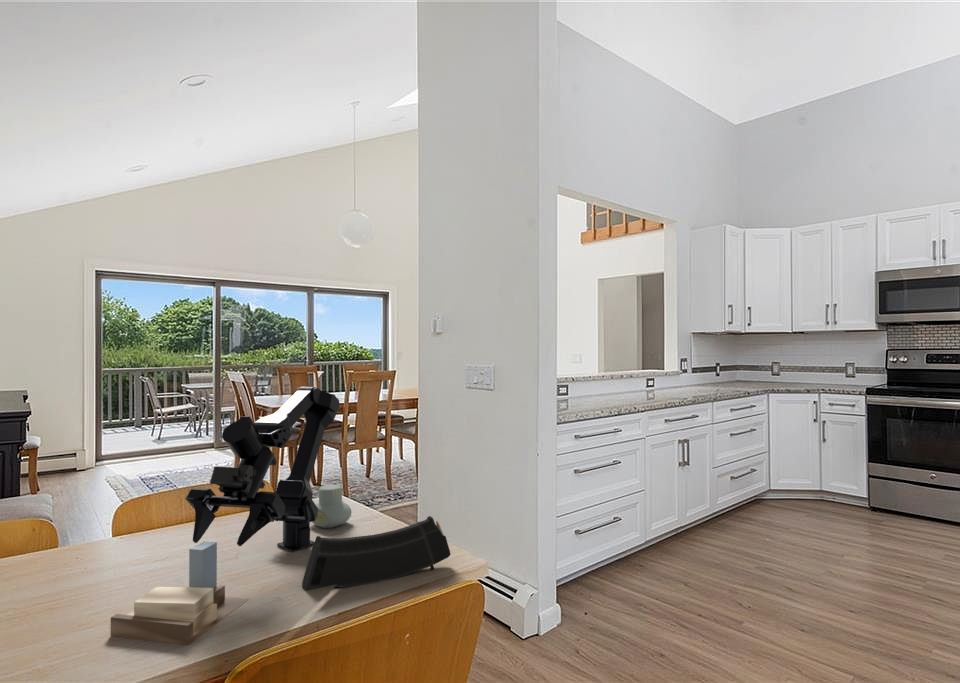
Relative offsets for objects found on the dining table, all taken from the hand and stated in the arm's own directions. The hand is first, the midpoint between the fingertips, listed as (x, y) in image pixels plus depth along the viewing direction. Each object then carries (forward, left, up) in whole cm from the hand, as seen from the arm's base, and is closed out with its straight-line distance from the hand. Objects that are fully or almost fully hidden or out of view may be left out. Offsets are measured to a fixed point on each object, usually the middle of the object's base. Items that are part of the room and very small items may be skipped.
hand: (216, 543), depth 107 cm
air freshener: (-21, +41, -11) cm, 48 cm away
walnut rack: (+4, -7, -11) cm, 14 cm away
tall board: (+2, -3, -10) cm, 10 cm away
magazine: (+16, +26, -11) cm, 33 cm away
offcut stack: (+5, -10, -10) cm, 15 cm away
